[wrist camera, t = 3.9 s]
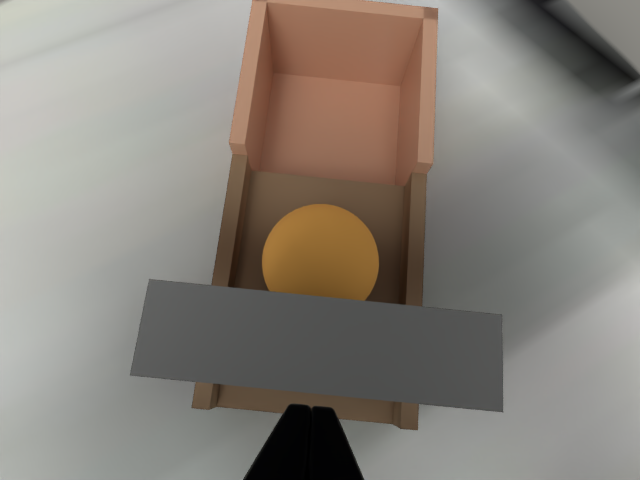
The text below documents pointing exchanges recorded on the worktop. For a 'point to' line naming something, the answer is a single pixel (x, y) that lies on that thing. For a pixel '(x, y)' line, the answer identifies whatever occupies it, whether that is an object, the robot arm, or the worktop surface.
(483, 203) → the worktop surface
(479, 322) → the plunger
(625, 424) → the worktop surface
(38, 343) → the worktop surface
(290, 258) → the ball
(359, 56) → the cup
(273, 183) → the tray
